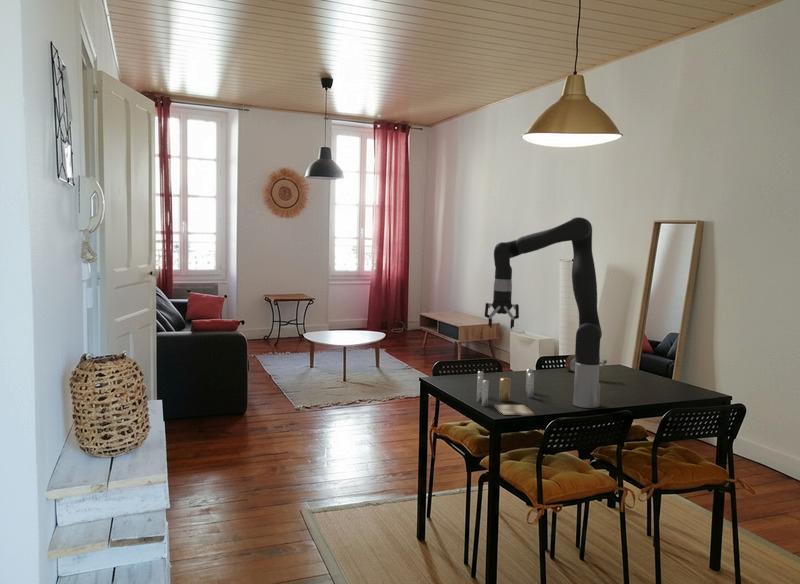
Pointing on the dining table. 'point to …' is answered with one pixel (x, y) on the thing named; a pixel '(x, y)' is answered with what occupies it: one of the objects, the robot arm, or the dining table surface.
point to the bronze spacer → (504, 389)
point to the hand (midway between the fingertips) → (501, 327)
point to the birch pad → (513, 410)
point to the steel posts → (484, 386)
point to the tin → (570, 363)
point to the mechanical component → (603, 364)
